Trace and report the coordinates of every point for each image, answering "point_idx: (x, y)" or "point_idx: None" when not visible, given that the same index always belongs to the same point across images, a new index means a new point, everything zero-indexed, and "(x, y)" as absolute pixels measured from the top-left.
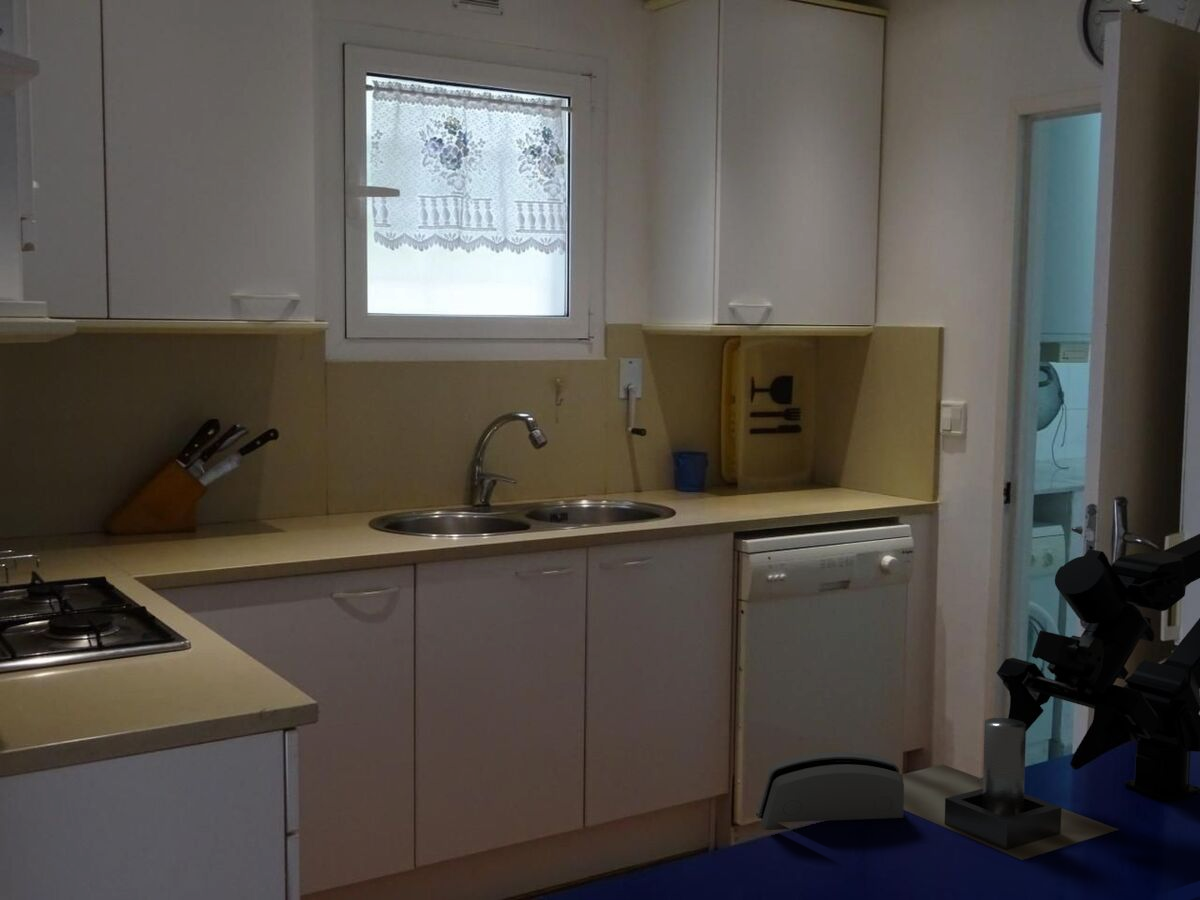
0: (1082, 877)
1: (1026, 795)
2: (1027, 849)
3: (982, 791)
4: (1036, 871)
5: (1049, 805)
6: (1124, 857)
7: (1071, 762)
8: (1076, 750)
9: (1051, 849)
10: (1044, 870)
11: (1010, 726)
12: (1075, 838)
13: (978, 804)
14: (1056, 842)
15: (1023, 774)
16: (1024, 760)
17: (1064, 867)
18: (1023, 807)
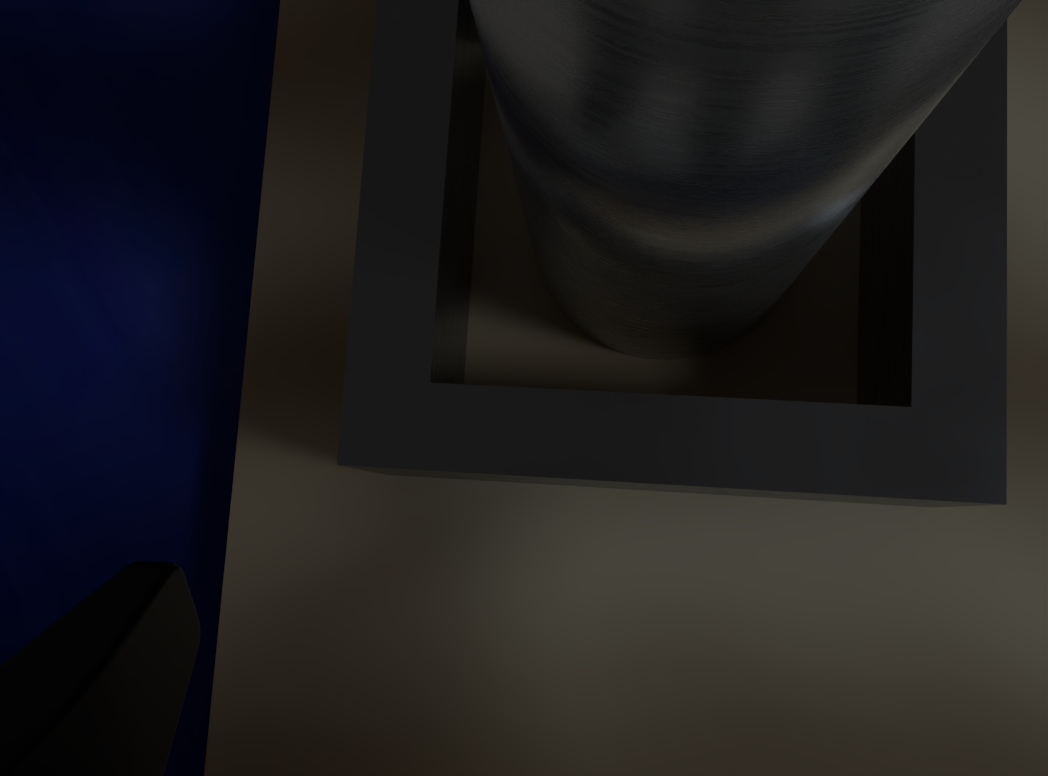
0: (42, 153)
1: (673, 461)
2: (355, 86)
3: (954, 239)
4: (238, 16)
5: (418, 420)
6: (38, 597)
7: (153, 571)
8: (66, 686)
9: (270, 208)
10: (219, 62)
11: None
12: (281, 484)
13: (891, 178)
14: (314, 324)
15: (498, 111)
16: (492, 68)
17: (175, 185)
18: (538, 249)
